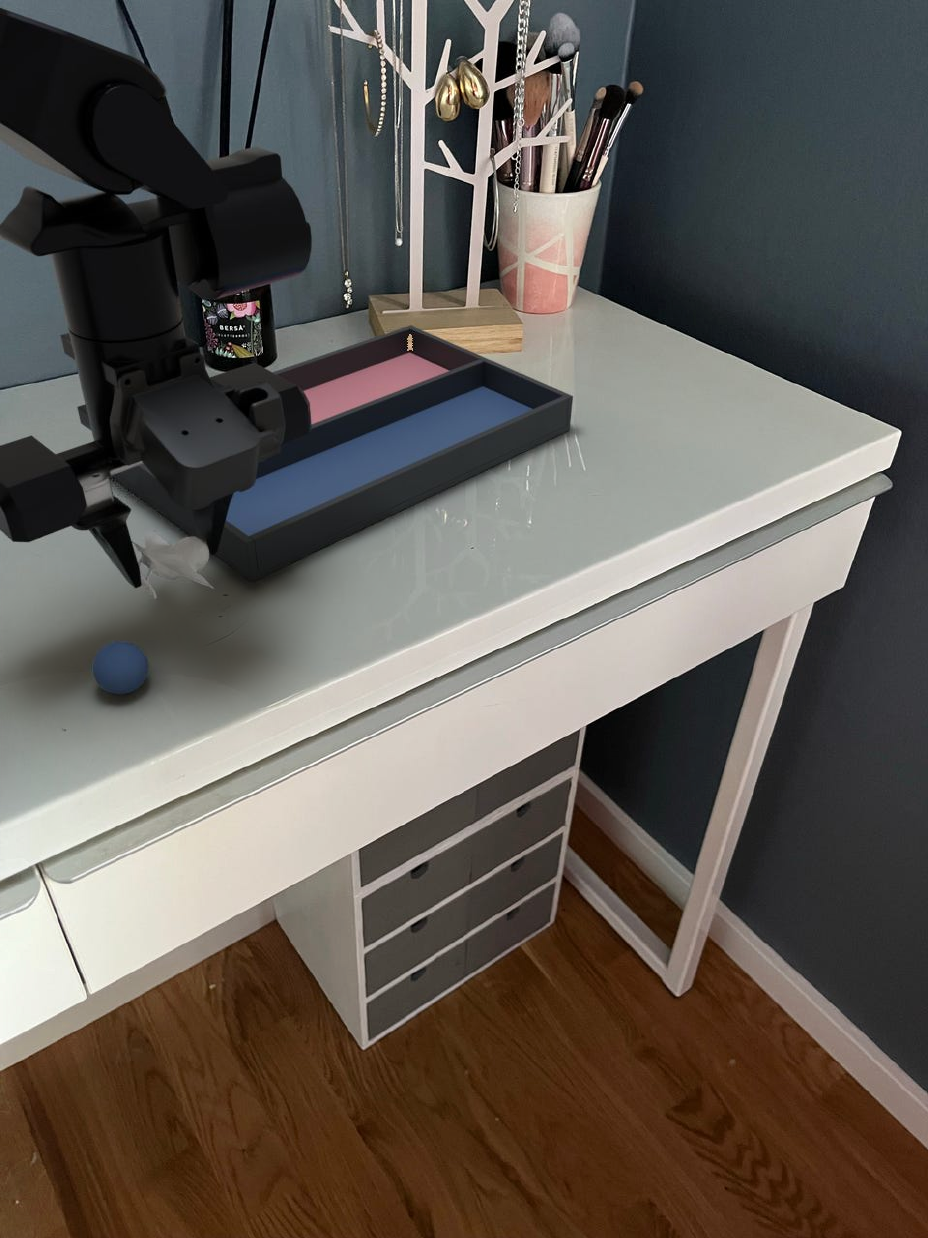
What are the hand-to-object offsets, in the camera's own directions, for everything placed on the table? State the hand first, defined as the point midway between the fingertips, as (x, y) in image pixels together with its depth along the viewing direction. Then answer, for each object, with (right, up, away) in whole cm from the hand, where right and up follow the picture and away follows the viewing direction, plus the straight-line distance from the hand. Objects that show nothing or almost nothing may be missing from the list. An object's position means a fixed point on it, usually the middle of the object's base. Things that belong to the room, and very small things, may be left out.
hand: (173, 568), depth 61 cm
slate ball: (-2, -6, -5) cm, 8 cm away
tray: (+8, +11, +19) cm, 23 cm away
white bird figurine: (0, -1, +1) cm, 1 cm away
